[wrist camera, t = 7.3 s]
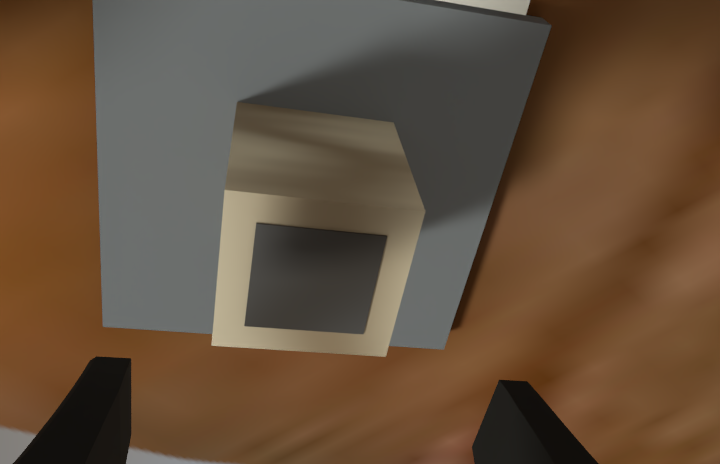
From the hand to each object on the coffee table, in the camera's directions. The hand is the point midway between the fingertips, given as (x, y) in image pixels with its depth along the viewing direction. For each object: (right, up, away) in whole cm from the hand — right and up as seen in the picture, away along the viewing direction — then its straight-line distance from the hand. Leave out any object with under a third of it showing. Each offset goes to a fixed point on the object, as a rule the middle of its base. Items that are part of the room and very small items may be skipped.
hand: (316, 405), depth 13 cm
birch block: (-1, +5, +7) cm, 9 cm away
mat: (-1, +5, +8) cm, 9 cm away
